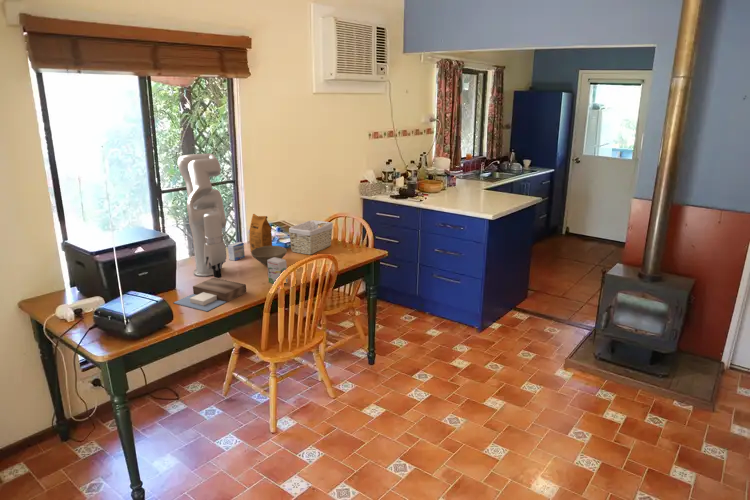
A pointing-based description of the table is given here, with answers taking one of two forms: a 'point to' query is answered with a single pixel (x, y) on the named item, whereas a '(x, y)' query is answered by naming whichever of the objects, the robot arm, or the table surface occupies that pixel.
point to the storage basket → (310, 236)
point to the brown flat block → (220, 288)
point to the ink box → (275, 268)
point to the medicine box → (236, 251)
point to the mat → (206, 307)
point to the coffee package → (260, 232)
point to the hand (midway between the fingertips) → (217, 277)
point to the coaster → (203, 298)
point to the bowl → (268, 253)
